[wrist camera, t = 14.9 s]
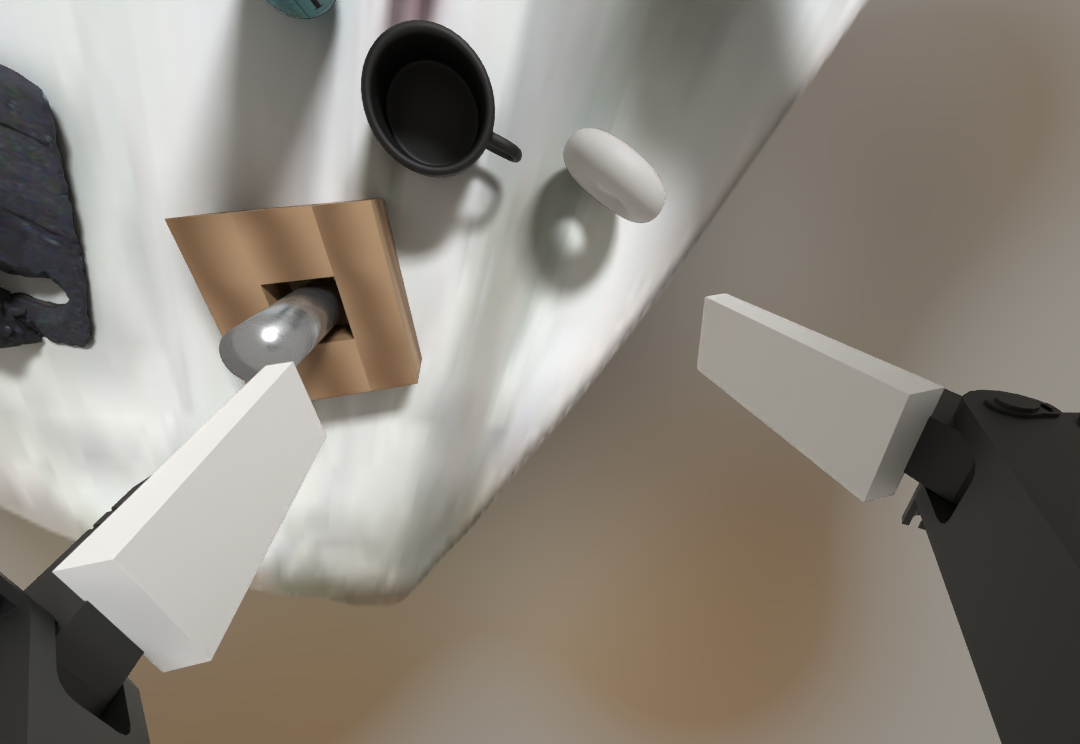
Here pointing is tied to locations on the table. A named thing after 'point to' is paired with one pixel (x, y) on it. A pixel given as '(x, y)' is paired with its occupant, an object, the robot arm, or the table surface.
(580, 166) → the donut
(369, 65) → the mug
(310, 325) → the pin
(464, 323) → the table surface
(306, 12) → the beverage bottle
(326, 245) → the block
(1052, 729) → the robot arm
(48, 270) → the dark slate chunk
